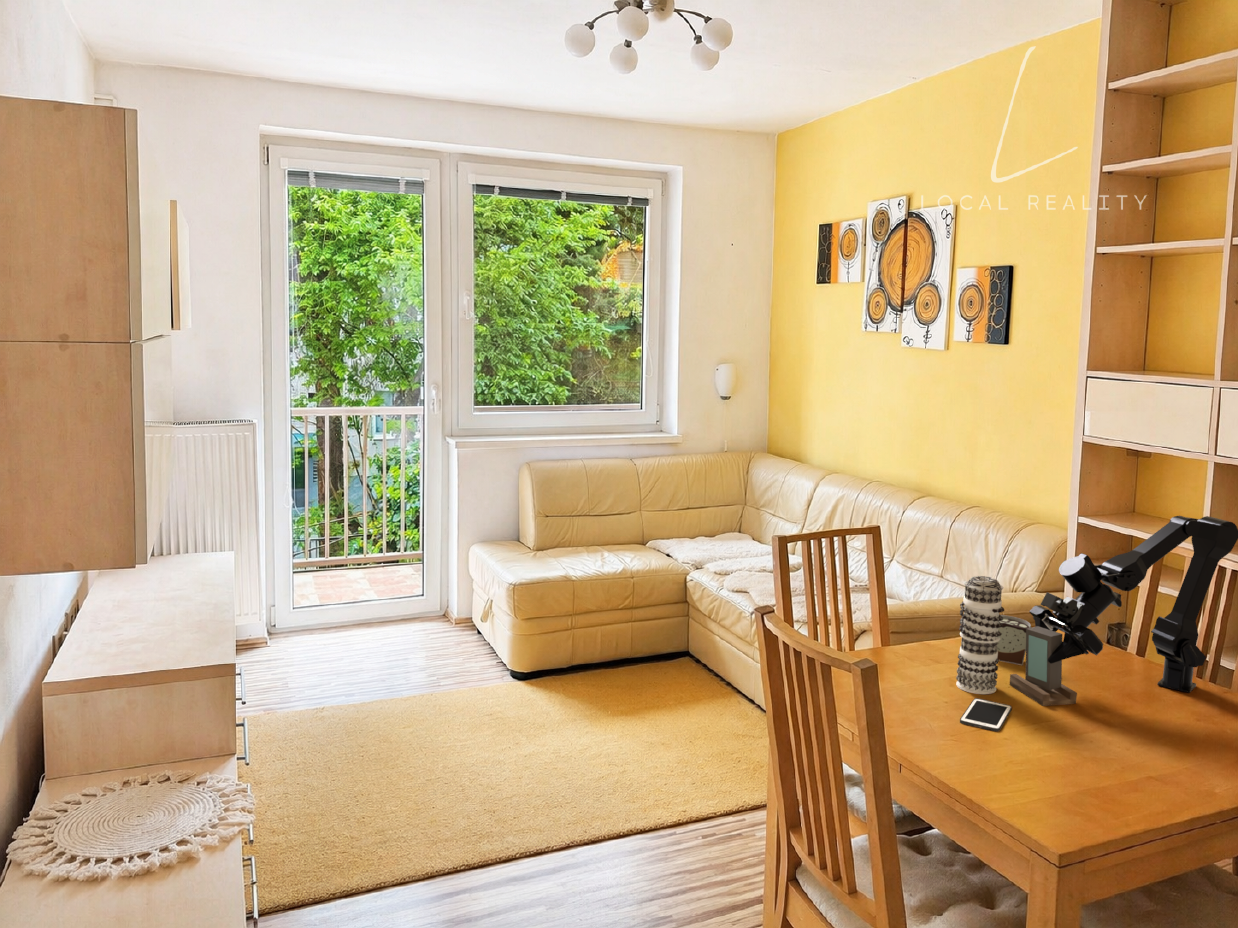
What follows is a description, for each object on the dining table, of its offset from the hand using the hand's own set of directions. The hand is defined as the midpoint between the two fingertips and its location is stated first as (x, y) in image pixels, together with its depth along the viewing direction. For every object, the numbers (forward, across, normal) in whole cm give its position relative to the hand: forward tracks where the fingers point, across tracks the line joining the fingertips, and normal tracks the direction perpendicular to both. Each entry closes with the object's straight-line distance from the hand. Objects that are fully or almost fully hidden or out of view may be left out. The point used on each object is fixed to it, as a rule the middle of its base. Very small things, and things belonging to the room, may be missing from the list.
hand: (1038, 655), depth 204 cm
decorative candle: (+14, -6, -1) cm, 15 cm away
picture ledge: (+5, 0, +7) cm, 9 cm away
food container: (+1, -22, +11) cm, 25 cm away
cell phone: (+19, +9, -5) cm, 22 cm away
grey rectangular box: (+3, 0, +6) cm, 7 cm away
